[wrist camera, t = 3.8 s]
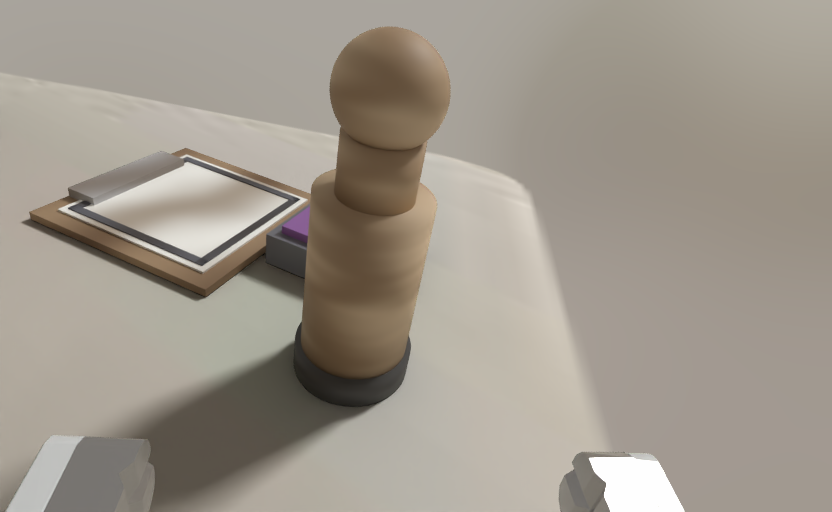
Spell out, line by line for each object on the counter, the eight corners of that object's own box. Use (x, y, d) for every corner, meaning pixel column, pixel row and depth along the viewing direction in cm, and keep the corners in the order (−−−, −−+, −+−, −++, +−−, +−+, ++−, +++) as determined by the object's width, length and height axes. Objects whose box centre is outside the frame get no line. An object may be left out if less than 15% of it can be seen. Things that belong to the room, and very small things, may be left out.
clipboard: (31, 219, 25) (26, 202, 24) (186, 154, 33) (185, 140, 32) (205, 296, 23) (204, 280, 22) (326, 206, 31) (327, 192, 30)
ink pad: (265, 262, 25) (266, 226, 24) (329, 212, 30) (332, 180, 29) (378, 308, 24) (384, 273, 23) (426, 248, 29) (433, 216, 28)
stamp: (270, 375, 20) (281, 17, 13) (330, 311, 23) (364, 2, 16) (376, 425, 19) (448, 64, 12) (422, 349, 22) (498, 38, 15)
